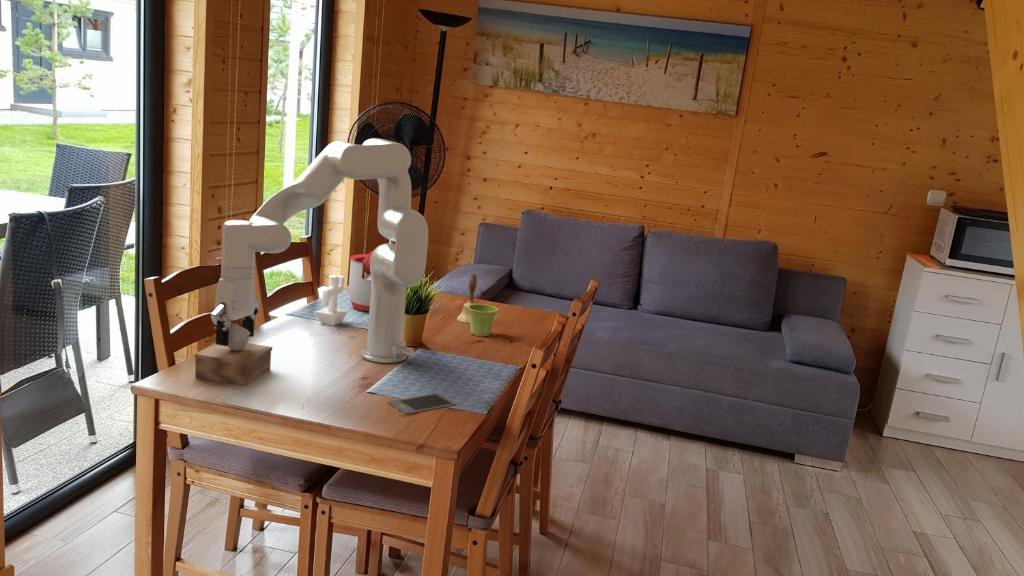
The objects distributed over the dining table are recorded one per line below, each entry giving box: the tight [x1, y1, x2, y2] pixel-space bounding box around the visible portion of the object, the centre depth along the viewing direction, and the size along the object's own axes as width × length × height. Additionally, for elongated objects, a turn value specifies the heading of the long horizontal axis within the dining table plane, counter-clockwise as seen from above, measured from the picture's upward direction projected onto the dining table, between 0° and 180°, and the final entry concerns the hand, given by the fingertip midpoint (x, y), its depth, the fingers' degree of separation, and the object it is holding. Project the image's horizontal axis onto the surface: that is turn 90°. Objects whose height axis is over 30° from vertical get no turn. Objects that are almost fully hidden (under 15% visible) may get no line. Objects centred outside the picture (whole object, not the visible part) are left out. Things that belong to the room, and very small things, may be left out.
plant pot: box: [468, 303, 499, 338], centre depth 258 cm, size 9×9×9 cm
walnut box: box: [194, 342, 273, 387], centre depth 201 cm, size 13×13×6 cm
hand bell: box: [456, 273, 478, 324], centre depth 272 cm, size 8×8×16 cm
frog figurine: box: [227, 322, 251, 351], centre depth 199 cm, size 6×7×7 cm
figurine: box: [315, 275, 349, 327], centre depth 251 cm, size 7×9×15 cm
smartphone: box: [387, 392, 457, 415], centre depth 196 cm, size 15×8×1 cm, turn 131°
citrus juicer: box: [348, 249, 375, 312], centre depth 272 cm, size 16×17×20 cm
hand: (235, 340), depth 199 cm, fingers open, 9 cm apart
